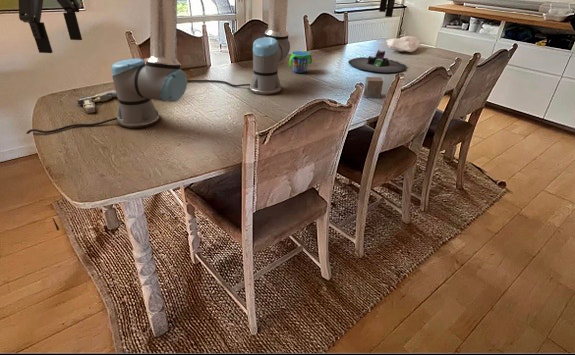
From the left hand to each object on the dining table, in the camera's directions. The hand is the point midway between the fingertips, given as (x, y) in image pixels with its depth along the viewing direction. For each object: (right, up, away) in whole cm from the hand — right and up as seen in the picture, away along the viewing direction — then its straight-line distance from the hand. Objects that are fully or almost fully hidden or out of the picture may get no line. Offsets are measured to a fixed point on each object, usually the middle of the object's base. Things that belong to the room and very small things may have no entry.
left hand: (62, 45), depth 90 cm
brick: (+97, +7, +87) cm, 130 cm away
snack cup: (+63, +27, +116) cm, 135 cm away
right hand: (+98, +38, +67) cm, 125 cm away
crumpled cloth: (+137, +58, +169) cm, 225 cm away
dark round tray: (+110, +36, +133) cm, 177 cm away
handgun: (-24, -1, +66) cm, 70 cm away
